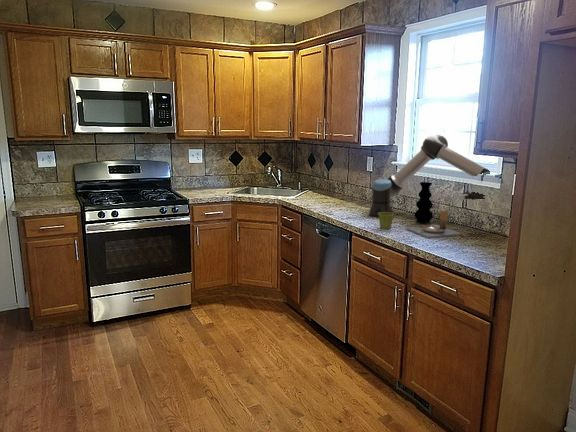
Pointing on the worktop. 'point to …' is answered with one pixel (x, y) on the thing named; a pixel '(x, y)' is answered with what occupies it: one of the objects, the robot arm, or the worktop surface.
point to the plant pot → (386, 219)
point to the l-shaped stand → (437, 228)
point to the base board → (433, 235)
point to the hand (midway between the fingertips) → (460, 197)
